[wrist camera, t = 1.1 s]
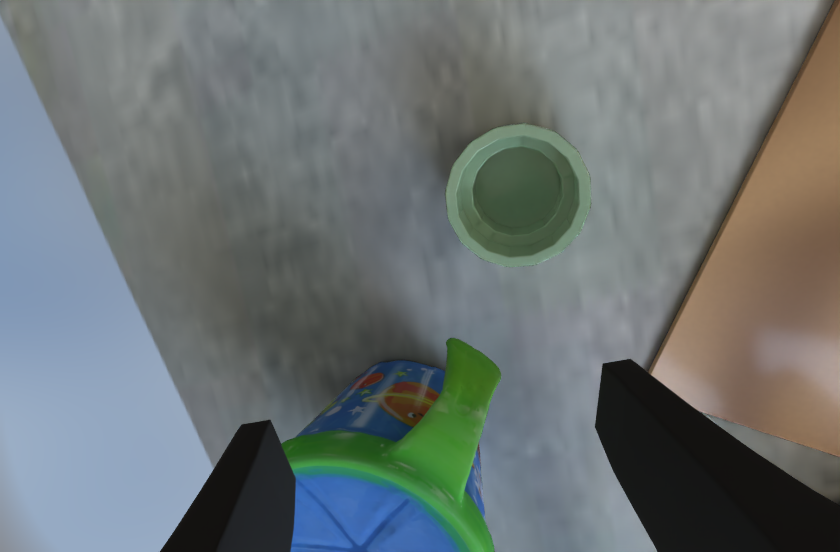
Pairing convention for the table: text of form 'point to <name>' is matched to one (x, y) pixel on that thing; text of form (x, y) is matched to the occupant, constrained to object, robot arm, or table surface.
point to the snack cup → (397, 460)
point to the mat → (774, 278)
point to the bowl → (518, 195)
